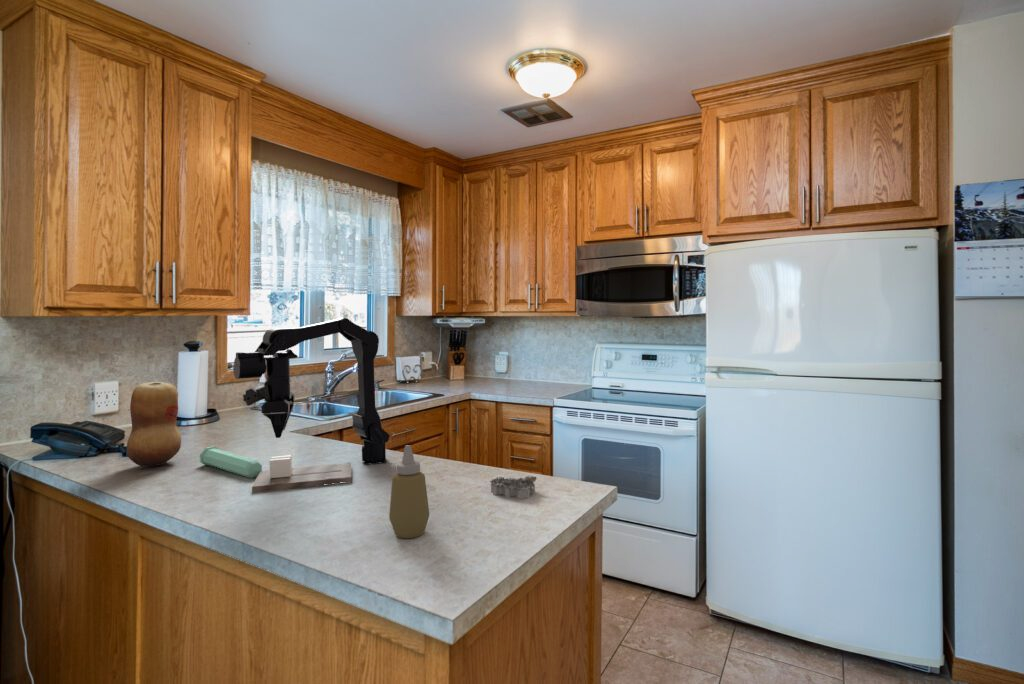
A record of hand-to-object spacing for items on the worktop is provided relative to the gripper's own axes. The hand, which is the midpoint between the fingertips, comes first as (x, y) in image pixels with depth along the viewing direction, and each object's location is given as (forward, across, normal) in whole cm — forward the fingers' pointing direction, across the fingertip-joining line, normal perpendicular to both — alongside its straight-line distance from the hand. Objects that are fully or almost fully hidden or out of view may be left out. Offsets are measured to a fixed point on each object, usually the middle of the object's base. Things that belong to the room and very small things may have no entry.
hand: (280, 433), depth 141 cm
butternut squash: (+13, -30, -38) cm, 50 cm away
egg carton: (+13, +29, +56) cm, 64 cm away
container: (+13, -16, -15) cm, 26 cm away
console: (+13, 0, +6) cm, 14 cm away
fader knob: (+11, 0, 0) cm, 11 cm away
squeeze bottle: (+13, +45, +29) cm, 55 cm away
